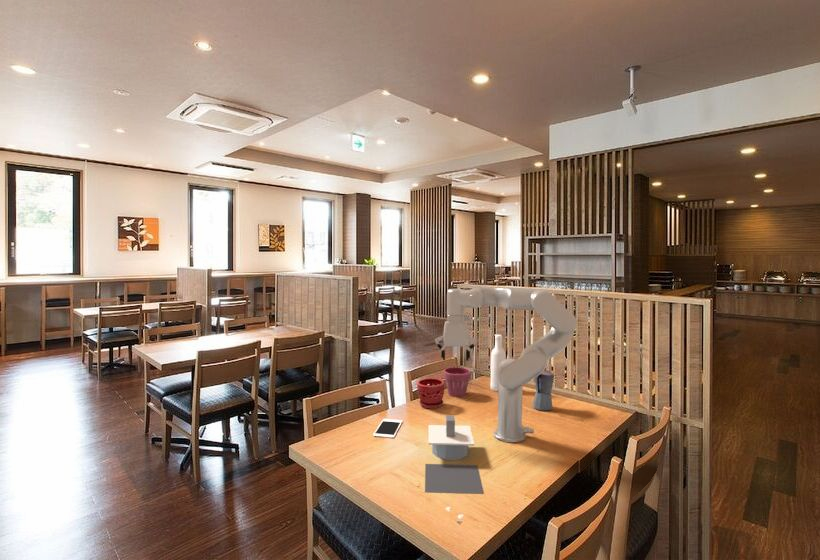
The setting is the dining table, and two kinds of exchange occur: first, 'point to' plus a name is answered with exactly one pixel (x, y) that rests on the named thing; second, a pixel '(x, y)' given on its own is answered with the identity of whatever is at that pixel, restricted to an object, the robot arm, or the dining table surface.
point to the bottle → (496, 361)
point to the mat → (452, 479)
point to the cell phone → (388, 428)
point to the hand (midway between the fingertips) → (455, 359)
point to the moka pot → (543, 391)
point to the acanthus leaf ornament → (458, 516)
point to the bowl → (450, 451)
